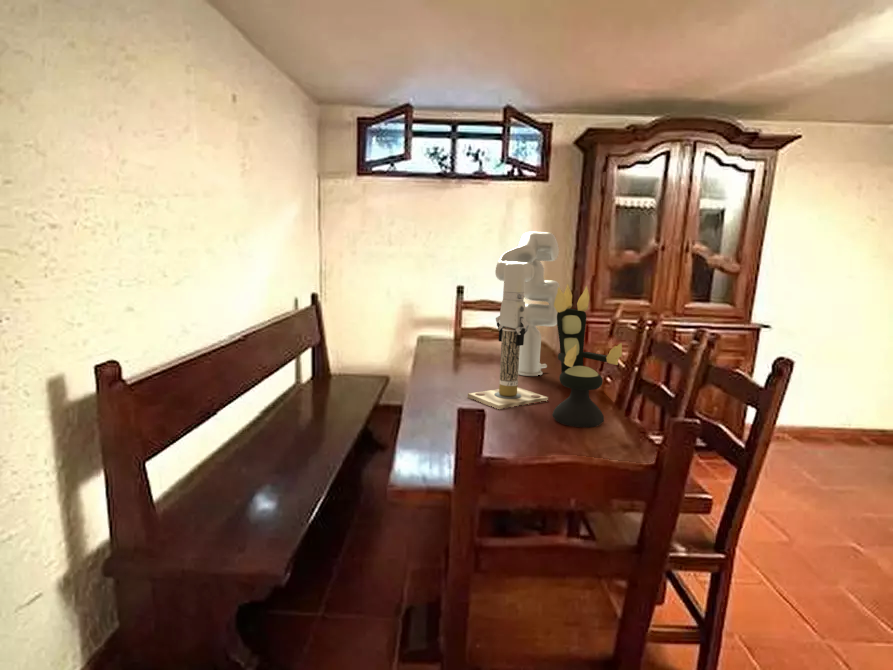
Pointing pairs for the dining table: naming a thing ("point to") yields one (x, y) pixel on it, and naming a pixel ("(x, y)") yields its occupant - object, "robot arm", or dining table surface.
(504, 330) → the paper tube
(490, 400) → the board
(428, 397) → the dining table surface
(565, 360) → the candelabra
